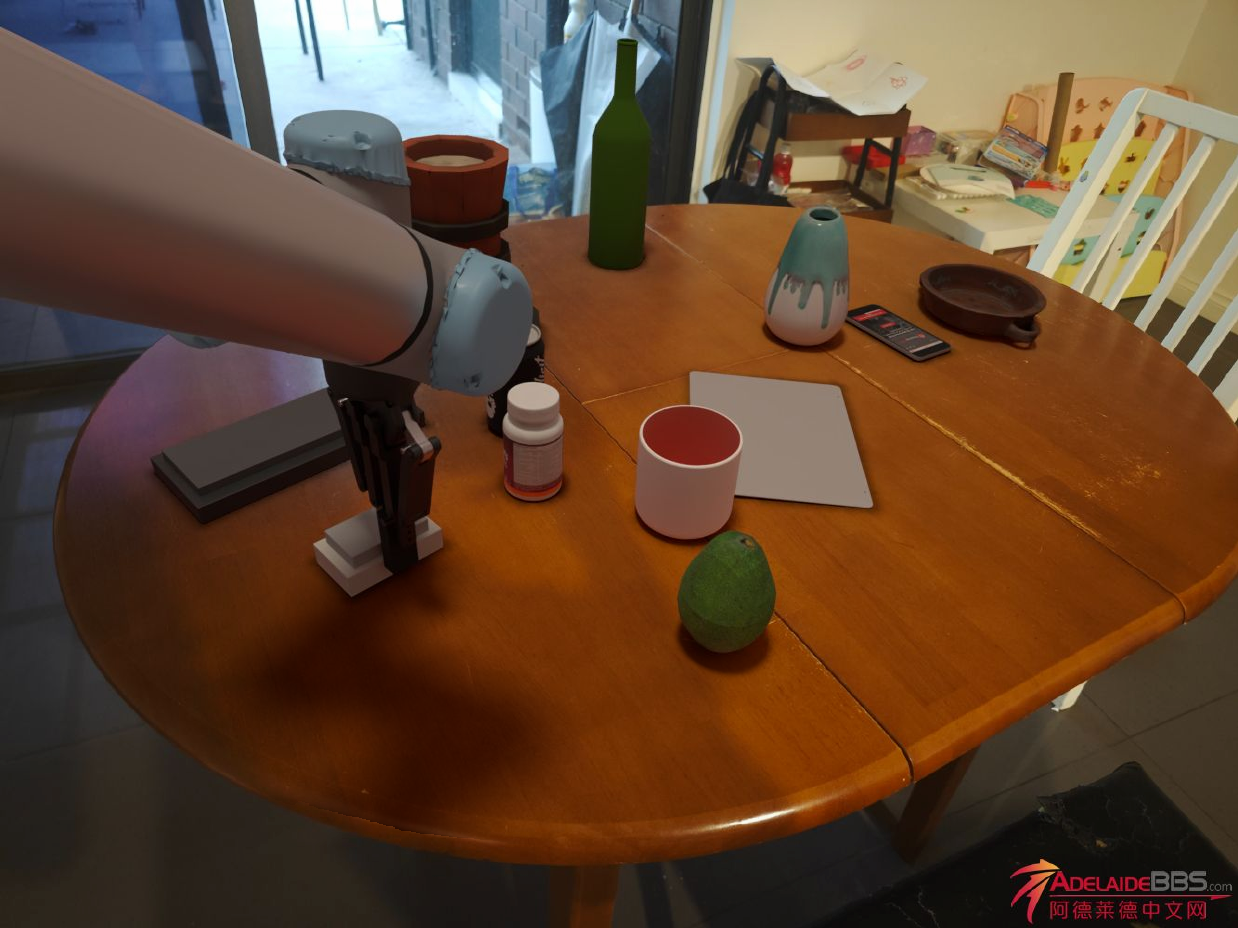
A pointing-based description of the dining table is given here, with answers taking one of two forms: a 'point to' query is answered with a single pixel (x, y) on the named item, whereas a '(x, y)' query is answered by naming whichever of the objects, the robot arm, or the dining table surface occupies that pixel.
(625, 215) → the wine bottle
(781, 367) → the dining table surface
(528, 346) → the beverage can
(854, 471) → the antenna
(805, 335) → the vase
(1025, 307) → the dish
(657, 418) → the cup
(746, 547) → the fruit
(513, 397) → the pill bottle
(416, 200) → the tankard
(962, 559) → the dining table surface
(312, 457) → the dark grey stepped slab
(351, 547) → the stepped grey block
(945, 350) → the smartphone
